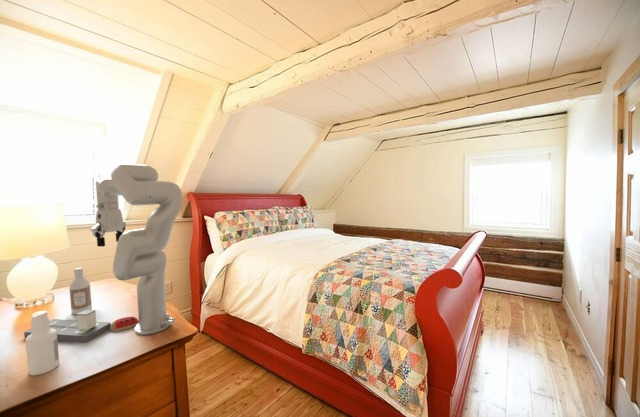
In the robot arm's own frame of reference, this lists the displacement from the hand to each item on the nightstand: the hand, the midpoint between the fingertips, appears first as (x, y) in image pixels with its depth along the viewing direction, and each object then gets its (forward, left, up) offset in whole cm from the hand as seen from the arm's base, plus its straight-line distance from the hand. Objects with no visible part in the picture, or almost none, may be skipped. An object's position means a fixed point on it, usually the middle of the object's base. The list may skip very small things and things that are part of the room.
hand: (110, 243), depth 125 cm
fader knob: (-9, +22, -27) cm, 36 cm away
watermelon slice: (-18, +15, -31) cm, 39 cm away
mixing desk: (-1, +22, -30) cm, 37 cm away
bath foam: (+12, +5, -31) cm, 33 cm away
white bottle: (-14, +41, -31) cm, 53 cm away
